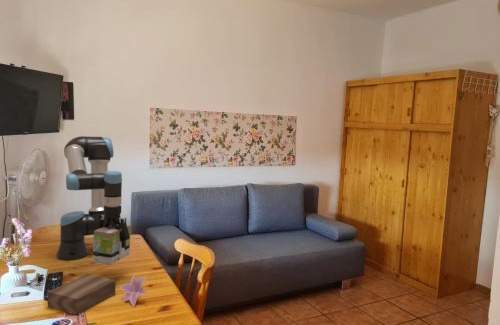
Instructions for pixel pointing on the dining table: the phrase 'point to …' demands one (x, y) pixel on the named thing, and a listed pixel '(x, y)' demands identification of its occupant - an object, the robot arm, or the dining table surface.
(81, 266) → the dining table surface
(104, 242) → the tea box
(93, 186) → the robot arm
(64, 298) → the walnut block
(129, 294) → the lily
